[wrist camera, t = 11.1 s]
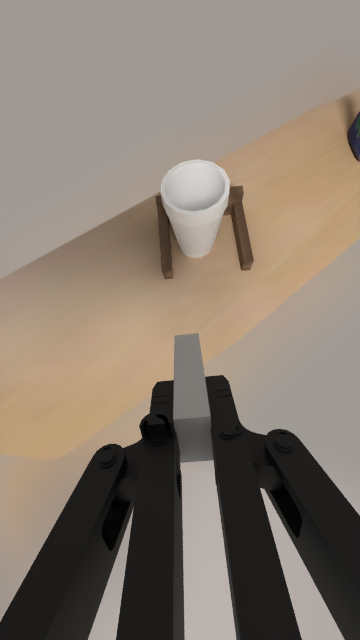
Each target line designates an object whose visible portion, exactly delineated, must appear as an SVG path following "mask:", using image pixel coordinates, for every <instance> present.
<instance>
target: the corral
mask: <svg viewBox="0 0 360 640" xmlns="http://www.w3.org/2000/svg"><path fill="white" fill-rule="evenodd" d="M243 194H244V191H243V187H242V186H236V187H230V188H229V198H228V205H227V207H226V209H225V211H224V214H223V215H229V214H231V215H232V221H233V226H234V232H235V237H236V243H237V248H238V254H239V260H240V265H241V271H242V270H250V269H251V266H252V263H253V261H254V260H253V255H252V250H251V245H250V240H249V235H248V230H247V225H246V220H245V215H244V210H243V205H242V198H243ZM156 204H157V209H158V216H159V231H160V245H161V259H162V271H163V275H164V278H165V279H169V278H173V271H172V259H171V247H170V235H169V223H168V222H170V220H169V217H168V216H167V213H166V211H165V209H164V207H163V204H162V199H161V196H156Z"/></svg>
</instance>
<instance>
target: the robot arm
mask: <svg viewBox="0 0 360 640" xmlns="http://www.w3.org/2000/svg"><path fill="white" fill-rule="evenodd" d="M139 427H140V430H141V434H142V439H141V440H139V441H138V442H137V443H135V444H133V445H130V446H127V447H125V448H122V447H121V446H120V445H117V444H108V445H105V446H103V447H102V448H100V449H99V450H98V451H97V452H96V453H95V454H94V456H93V457H92V459H91V461H90V462H89V464H88V466H87V468H86V470H85V471H84V473H83V475H82V477H81V478H80V480H79V482H78V484H77V486H76V488H75V489H74V491H73V493H72V495H71V496H70V498H69V500H68V502H67V504H66V505H65V507H64V509H63V511H62V513H61V514H60V516H59V518H58V520H57V521H56V523H55V525H54V527H53V529H52V531H51V532H50V534H49V536H48V538H47V539H46V541H45V543H44V545H43V547H42V548H41V550H40V552H39V554H38V555H37V558H36V559H35V561H34V563H33V564H32V566H31V568H30V570H29V572H28V573H27V575H26V577H25V579H24V580H23V582H22V584H21V586H20V588H19V589H18V591H17V593H16V595H15V597H14V599H13V600H12V602H11V604H10V606H9V607H8V609H7V611H6V613H5V614H4V616H3V618H2V620H1V622H0V640H88V637H89V634H90V631H91V629H92V625H93V622H94V620H95V617H96V614H97V611H98V608H99V605H100V603H101V599H102V597H103V594H104V591H105V588H106V585H107V582H108V579H109V577H110V574H111V571H112V568H113V565H114V562H115V559H116V556H117V554H118V551H119V548H120V545H121V542H122V539H123V536H124V533H125V530H126V528H127V524H128V522H129V519H130V516H131V513H132V510H133V507H134V510H133V518H132V525H131V532H130V540H129V548H128V555H127V562H126V570H125V577H124V585H123V592H122V600H121V607H120V614H119V623H118V629H117V637H116V640H184V590H183V587H184V586H183V532H182V531H183V530H182V479H181V470H180V462H181V463H183V462H195V461H208V460H214V467H215V480H216V485H217V492H218V500H219V508H220V515H221V523H222V530H223V537H224V546H225V554H226V561H227V568H228V576H229V584H230V591H231V599H232V607H233V615H234V622H235V630H236V638H237V640H302V639H301V636H300V632H299V628H298V625H297V621H296V617H295V614H294V610H293V606H292V603H291V599H290V595H289V592H288V588H287V585H286V581H285V577H284V574H283V570H282V567H281V563H280V559H279V556H278V552H277V548H276V544H275V541H274V537H273V534H272V530H271V526H270V523H269V519H268V516H267V512H266V508H265V505H264V501H263V497H262V494H261V491H260V488H263V489H265V491H266V493H267V495H268V497H269V499H270V500H271V502H272V504H273V506H274V508H275V510H276V511H277V513H278V515H279V517H280V519H281V521H282V523H283V525H284V527H285V528H286V530H287V532H288V534H289V536H290V538H291V540H292V542H293V544H294V545H295V547H296V549H297V551H298V553H299V555H300V557H301V558H302V560H303V562H304V564H305V566H306V568H307V570H308V571H309V573H310V575H311V577H312V579H313V581H314V583H315V585H316V587H317V588H318V590H319V592H320V594H321V596H322V598H323V600H324V602H325V603H326V605H327V607H328V609H329V611H330V613H331V615H332V617H333V618H334V620H335V622H336V624H337V626H338V628H339V630H340V632H341V633H342V635H343V637H344V639H345V640H360V516H359V514H358V513H357V512H356V511H355V509H354V508H353V507H352V505H351V504H350V503H349V502H348V501H347V499H346V498H345V497H344V495H343V494H342V493H341V492H340V490H339V489H338V488H337V486H336V485H335V484H334V483H333V481H332V480H331V479H330V478H329V477H328V475H327V474H326V473H325V471H324V470H323V469H322V467H321V466H320V465H319V464H318V462H317V461H316V460H315V459H314V457H313V456H312V455H311V454H310V452H309V451H308V450H307V449H306V447H305V446H304V445H303V443H302V442H301V441H300V440H299V439H298V437H296V436H295V435H294V434H293V433H291V432H289V431H287V430H282V429H275V430H272V431H270V432H269V433H268V434H267V435H262V434H257V433H254V432H251V431H249V430H247V429H246V428H244V427H243V426H242V424H241V423H240V421H239V419H238V415H237V411H236V408H235V404H234V400H233V397H232V393H231V389H230V385H229V381H228V380H227V379H226V378H225V377H224V376H223V375H219V376H208V377H205V375H204V368H203V361H202V354H201V348H200V341H199V334H198V333H197V334H187V335H177V336H175V345H174V380H172V381H162V382H157V383H156V385H155V386H154V388H153V390H152V398H151V407H150V414H148V415H147V416H145V417H144V418H143V419H142V420H141V423H140V426H139Z"/></svg>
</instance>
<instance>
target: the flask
mask: <svg viewBox="0 0 360 640" xmlns="http://www.w3.org/2000/svg"><path fill="white" fill-rule="evenodd" d="M347 136H348V143H349V145H350V148H351V150H352V152H353V154H354V157H355V158H356V159H357V160H358V161H360V112H359V113H358V115H357V117H356V119H355V120H354V122H353V124H352V125H351V127H350V129H349V130H348V133H347Z"/></svg>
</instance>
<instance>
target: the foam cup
mask: <svg viewBox="0 0 360 640" xmlns="http://www.w3.org/2000/svg"><path fill="white" fill-rule="evenodd" d="M229 188H230V180H229V178H228V176H227V175H226V173H225V171H224V169H222V168H220V167H219V166H217V165H216V164H214V163H213V162H209V161H204V160H198V159H197V160H191V161H185V162H181V163H180V164H178V165H176V166H174V167H173V168H171V169H170V170H169V171H168V173H167V174H166V175H165V176H164V178H163V179H162V183H161V190H160V193H161V199H162V204H163V207H164V209H165V211H166V213H167V216H168V217H169V220H170V222H171V225H172V228H173V231H174V234H175V236H176V239H177V242H178V245H179V247H180V249H181V252H182V253H184V254H185V255H186V256H188V257H192V258H200V257H203V256H205V255H207V254H208V253H209V252H210V251H211V249H212V248H213V245H214V242H215V239H216V236H217V233H218V229H219V226H220V223H221V220H222V217H223V214H224V211H225V209H226V207H227V205H228V198H229Z"/></svg>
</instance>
